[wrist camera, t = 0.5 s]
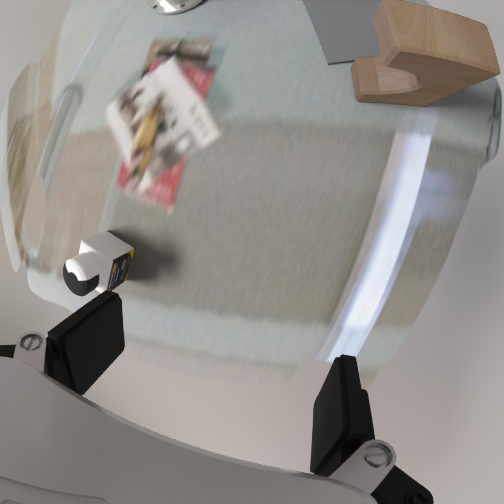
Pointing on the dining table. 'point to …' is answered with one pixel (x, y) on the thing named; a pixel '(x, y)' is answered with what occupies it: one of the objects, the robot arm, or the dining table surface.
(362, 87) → the decorative block
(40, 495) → the robot arm
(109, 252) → the medicine bottle
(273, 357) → the dining table surface
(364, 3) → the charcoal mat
